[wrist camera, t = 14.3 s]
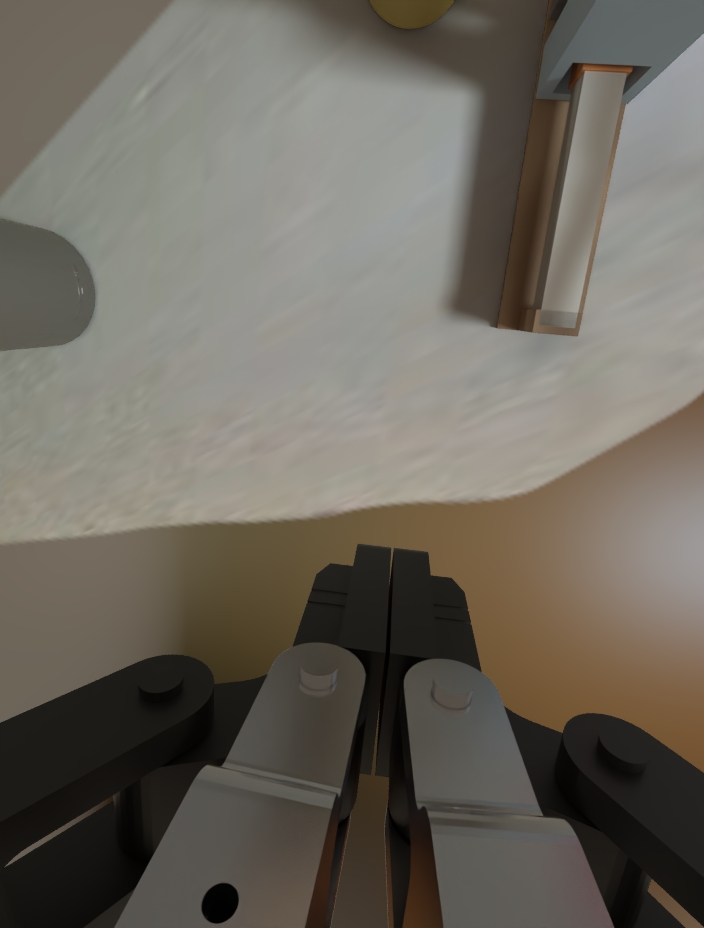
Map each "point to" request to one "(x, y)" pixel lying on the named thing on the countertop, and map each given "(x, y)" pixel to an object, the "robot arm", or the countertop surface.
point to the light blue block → (618, 40)
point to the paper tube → (411, 11)
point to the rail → (540, 210)
